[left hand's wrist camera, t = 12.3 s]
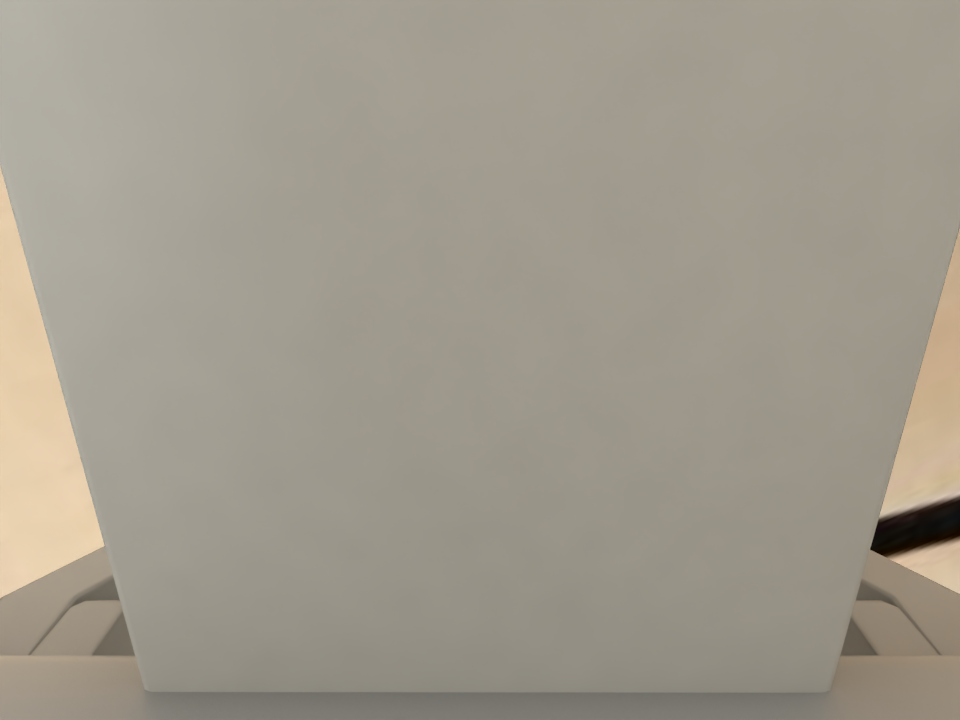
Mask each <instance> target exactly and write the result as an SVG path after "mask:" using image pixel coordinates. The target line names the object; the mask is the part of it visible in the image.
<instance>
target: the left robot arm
mask: <svg viewBox="0 0 960 720" xmlns="http://www.w3.org/2000/svg"><path fill="white" fill-rule="evenodd" d="M0 720H960V594H958V593H956V592H954V591H952V590H950V589H948V588H946V587H944V586H942V585H940V584H938V583H936V582H934V581H932V580H930V579H928V578H926V577H924V576H922V575H920V574H918V573H916V572H914V571H912V570H910V569H908V568H906V567H904V566H902V565H900V564H898V563H896V562H894V561H892V560H890V559H888V558H886V557H884V556H882V555H879V554H877V553H875V552H873V551H871V550H870V551H869V554H868V558H867V561H866V565H865V569H864V572H863V576H862V579H861V583H860V586H859V590H858V594H857V597H856V601H855V604H854V608H853V612H852V615H851V619H850V622H849V626H848V629H847V633H846V637H845V640H844V644H843V647H842V651H841V655H840V658H839V662H838V665H837V669H836V673H835V676H834V680H833V683H832V687H831V690H830V691H828V692H825V693H583V692H149V691H147V690H144V686H143V683H142V679H141V675H140V672H139V668H138V665H137V661H136V657H135V654H134V650H133V646H132V643H131V639H130V635H129V632H128V628H127V625H126V621H125V617H124V614H123V610H122V606H121V603H120V599H119V595H118V592H117V588H116V585H115V581H114V577H113V574H112V570H111V566H110V563H109V559H108V555H107V552H106V548H105V546H104V547H102V548H100V549H98V550H96V551H94V552H92V553H90V554H88V555H86V556H84V557H82V558H80V559H78V560H76V561H74V562H72V563H70V564H68V565H66V566H64V567H62V568H60V569H58V570H56V571H54V572H52V573H50V574H48V575H46V576H44V577H42V578H40V579H38V580H36V581H34V582H32V583H30V584H28V585H26V586H24V587H22V588H20V589H18V590H16V591H14V592H12V593H10V594H8V595H6V596H4V597H2V598H0Z"/></svg>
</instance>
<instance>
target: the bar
mask: <svg viewBox="0 0 960 720" xmlns="http://www.w3.org/2000/svg"><path fill="white" fill-rule="evenodd" d="M0 166H1V170H2V173H3V177H4V181H5V184H6V188H7V191H8V195H9V199H10V202H11V206H12V210H13V213H14V217H15V221H16V224H17V228H18V232H19V235H20V239H21V242H22V246H23V250H24V253H25V257H26V261H27V264H28V268H29V272H30V275H31V279H32V282H33V286H34V290H35V293H36V297H37V301H38V304H39V308H40V312H41V315H42V319H43V322H44V326H45V330H46V333H47V337H48V341H49V344H50V348H51V352H52V355H53V359H54V363H55V366H56V370H57V373H58V377H59V381H60V384H61V388H62V392H63V395H64V399H65V403H66V406H67V410H68V413H69V417H70V421H71V424H72V428H73V432H74V435H75V439H76V443H77V446H78V450H79V453H80V457H81V461H82V464H83V468H84V472H85V475H86V479H87V483H88V486H89V490H90V494H91V497H92V501H93V504H94V508H95V512H96V515H97V519H98V523H99V526H100V530H101V534H102V537H103V541H104V544H105V548H106V552H107V555H108V559H109V563H110V566H111V570H112V574H113V577H114V581H115V585H116V588H117V592H118V595H119V599H120V603H121V606H122V610H123V614H124V617H125V621H126V625H127V628H128V632H129V635H130V639H131V643H132V646H133V650H134V654H135V657H136V661H137V665H138V668H139V672H140V675H141V679H142V683H143V686H144V690H147V691H149V692H583V693H825V692H828V691H830V690H831V687H832V683H833V680H834V676H835V673H836V669H837V665H838V662H839V658H840V655H841V651H842V647H843V644H844V640H845V637H846V633H847V629H848V626H849V622H850V619H851V615H852V612H853V608H854V604H855V601H856V597H857V594H858V590H859V586H860V583H861V579H862V576H863V572H864V569H865V565H866V561H867V558H868V554H869V551H870V547H871V543H872V540H873V536H874V533H875V529H876V525H877V522H878V518H879V515H880V511H881V508H882V504H883V500H884V497H885V493H886V490H887V486H888V482H889V479H890V475H891V472H892V468H893V465H894V461H895V457H896V454H897V450H898V447H899V443H900V439H901V436H902V432H903V429H904V425H905V421H906V418H907V414H908V411H909V407H910V404H911V400H912V396H913V393H914V389H915V386H916V382H917V378H918V375H919V371H920V368H921V364H922V361H923V357H924V353H925V350H926V346H927V343H928V339H929V335H930V332H931V328H932V325H933V321H934V318H935V314H936V310H937V307H938V303H939V300H940V296H941V292H942V289H943V285H944V282H945V278H946V274H947V271H948V267H949V264H950V260H951V257H952V253H953V249H954V246H955V242H956V239H957V235H958V231H959V228H960V0H0Z"/></svg>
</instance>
